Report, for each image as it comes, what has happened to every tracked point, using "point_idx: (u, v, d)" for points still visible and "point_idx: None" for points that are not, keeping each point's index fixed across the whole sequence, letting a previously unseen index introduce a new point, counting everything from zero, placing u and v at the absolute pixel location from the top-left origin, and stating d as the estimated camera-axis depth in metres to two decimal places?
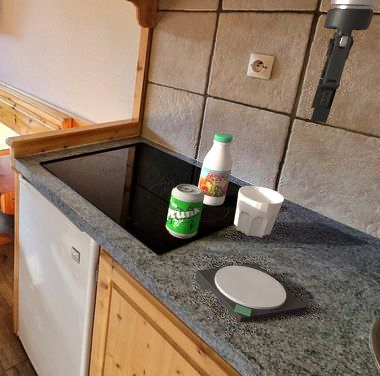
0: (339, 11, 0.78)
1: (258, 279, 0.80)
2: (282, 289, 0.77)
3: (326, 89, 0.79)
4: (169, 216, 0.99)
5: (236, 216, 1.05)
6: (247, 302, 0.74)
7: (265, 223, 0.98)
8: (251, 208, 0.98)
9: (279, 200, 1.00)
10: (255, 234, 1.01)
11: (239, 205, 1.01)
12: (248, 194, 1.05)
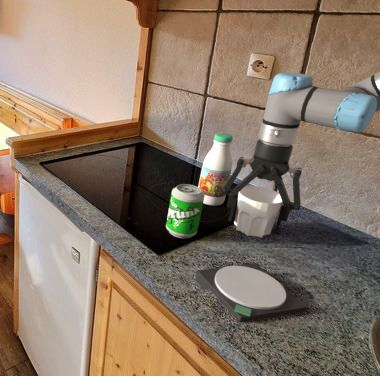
0: (289, 149, 0.91)
1: (258, 279, 0.80)
2: (282, 289, 0.77)
3: None
4: (169, 216, 0.99)
5: (236, 216, 1.05)
6: (247, 302, 0.74)
7: (265, 223, 0.98)
8: (251, 208, 0.98)
9: (279, 200, 1.00)
10: (255, 234, 1.01)
11: (239, 205, 1.01)
12: (248, 194, 1.05)
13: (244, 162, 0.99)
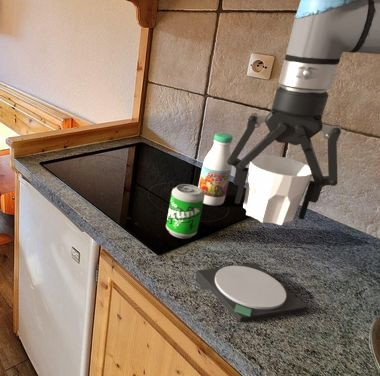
0: (324, 97, 0.64)
1: (258, 279, 0.80)
2: (282, 289, 0.77)
3: None
4: (169, 216, 0.99)
5: (246, 197, 0.77)
6: (247, 302, 0.74)
7: (287, 205, 0.71)
8: (267, 183, 0.70)
9: (306, 173, 0.72)
10: (272, 220, 0.73)
11: (250, 180, 0.73)
12: (263, 167, 0.77)
13: (258, 120, 0.71)
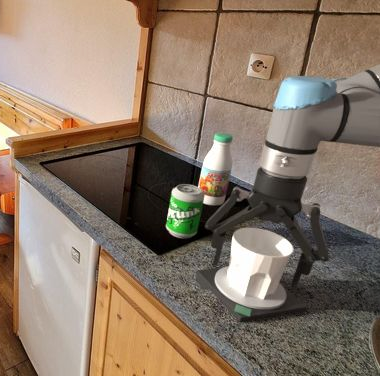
0: (303, 183, 0.66)
1: None
2: (282, 289, 0.77)
3: None
4: (169, 216, 0.99)
5: (229, 267, 0.79)
6: (247, 302, 0.74)
7: (268, 281, 0.73)
8: (249, 261, 0.72)
9: (287, 249, 0.74)
10: (254, 294, 0.75)
11: (233, 255, 0.75)
12: (246, 238, 0.79)
13: (240, 195, 0.73)
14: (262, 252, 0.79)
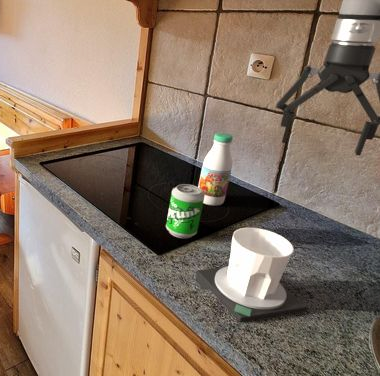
0: (373, 48, 0.76)
1: None
2: (282, 289, 0.77)
3: None
4: (169, 216, 0.99)
5: (229, 267, 0.79)
6: (247, 302, 0.74)
7: (268, 281, 0.73)
8: (249, 261, 0.72)
9: (287, 249, 0.74)
10: (254, 294, 0.75)
11: (233, 255, 0.75)
12: (246, 238, 0.79)
13: (312, 71, 0.83)
14: (262, 252, 0.79)
